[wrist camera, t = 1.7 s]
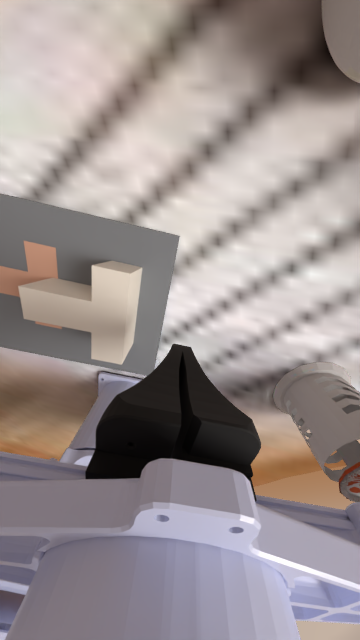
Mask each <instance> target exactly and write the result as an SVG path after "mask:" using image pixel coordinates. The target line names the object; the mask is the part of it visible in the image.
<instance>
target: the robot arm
mask: <svg viewBox="0 0 360 640" xmlns="http://www.w3.org/2000/svg"><path fill="white" fill-rule="evenodd" d="M102 378H103V379H102ZM260 448H261V442H260V439H259V436H258V433H257V431H256V428H255V426H254V424H253V421H252V419H250V418H249V417H248V416H247V415H245V414H244V413H243V412H241V411H240V410H239V409H237V408H236V407H235V406H234V405H233V404H232V403H231V402H229V401H228V400H227V399H226V398H225V397H224V396H223V395H222V394H221V393H220V392H219V391H218V390H217V389H216V387H215V386H214V385H213V384H212V383H211V381H210V380H209V379H208V378H207V376H206V375H205V373H204V372H203V370H202V368H201V367H200V365H199V363H198V361H197V359H196V357H195V355H194V353H193V351H192V349H191V347H187V346H182V345H177V344H173V345H172V347H171V350H170V351H169V353H168V354H167V356H166V357H165V359H164V360H163V361H162V362H161V363H160V365H159V366H158V367H157V368H156V369H155V370H154V371H153V372H151V373H150V374H149V375H148V376H147V377H145V378H144V379H143V380H141V379H136V378H131V377H126V376H121V375H116V374H111V373H105V372H101V373H100V374H99V376H98V398H97V400H96V401H95V403H94V405H93V406H92V408H91V410H90V412H89V413H88V415H87V417H86V418H85V420H84V422H83V423H82V425H81V427H80V429H79V430H78V432H77V434H76V435H75V437H74V439H73V441H72V442H71V444H70V446H69V447H68V448H67V449H66V450H65V452H64V454H63V455H62V457H61V459H60V461H57V459H55V458H51V459H50V460H47V459H41V458H35V457H30V456H24V455H18V454H12V453H6V452H0V640H301V638H300V636H299V631H298V628H297V625H296V621H295V620H299V621H316V622H334V623H349V624H360V502H356V503H352V504H350V505H349V506H348V507H347V508H346V509H345V510H341V509H335V508H329V507H323V506H318V505H312V504H306V503H300V502H294V501H288V500H282V499H276V498H270V497H265V496H258V495H255V492H254V488H253V484H252V481H251V477H252V476H253V472H252V469H251V465H250V464H251V463H252V461H253V460H254V459H255V457H256V456H257V454H258V453H259V450H260Z"/></svg>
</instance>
